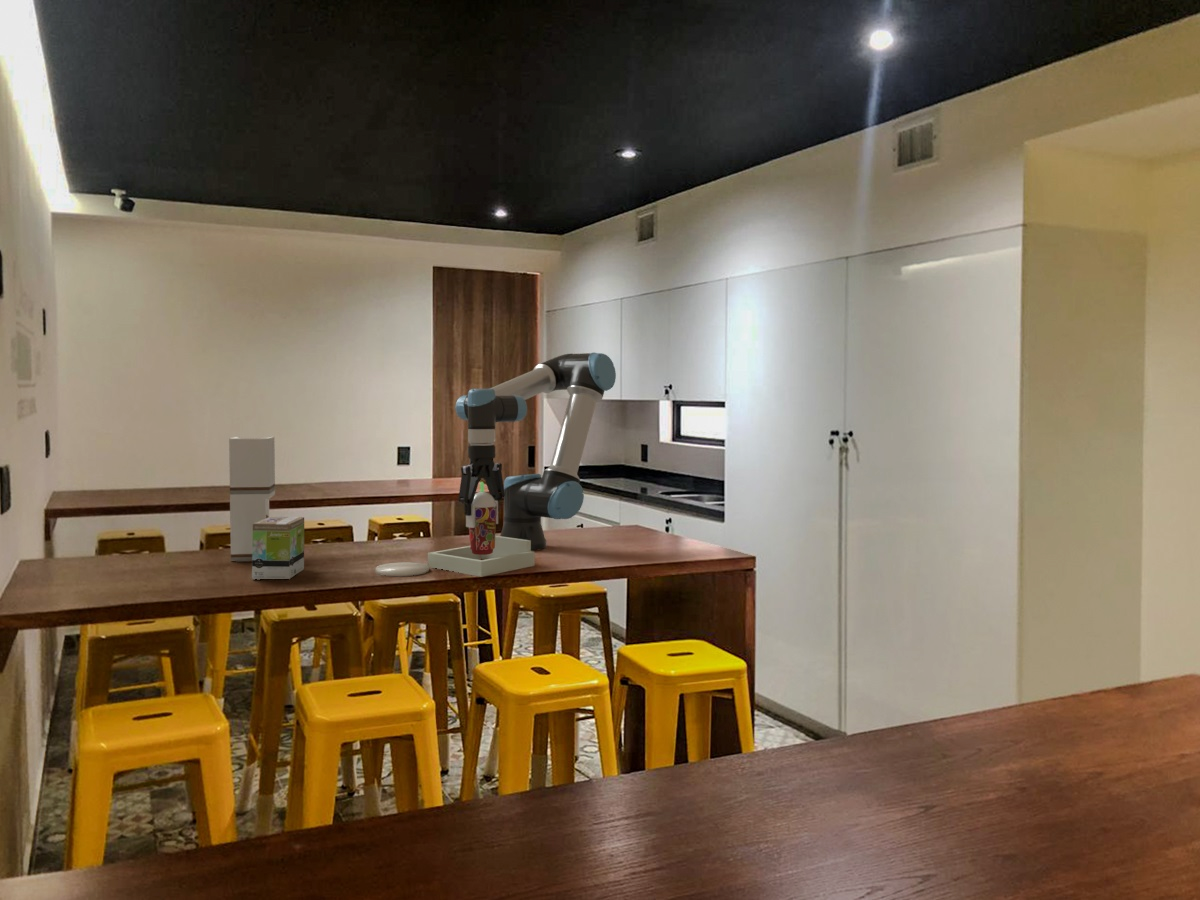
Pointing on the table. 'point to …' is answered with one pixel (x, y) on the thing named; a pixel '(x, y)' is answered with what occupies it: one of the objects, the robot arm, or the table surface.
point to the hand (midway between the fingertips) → (482, 525)
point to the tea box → (278, 547)
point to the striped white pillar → (249, 490)
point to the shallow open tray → (502, 559)
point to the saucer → (402, 569)
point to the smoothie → (483, 524)
